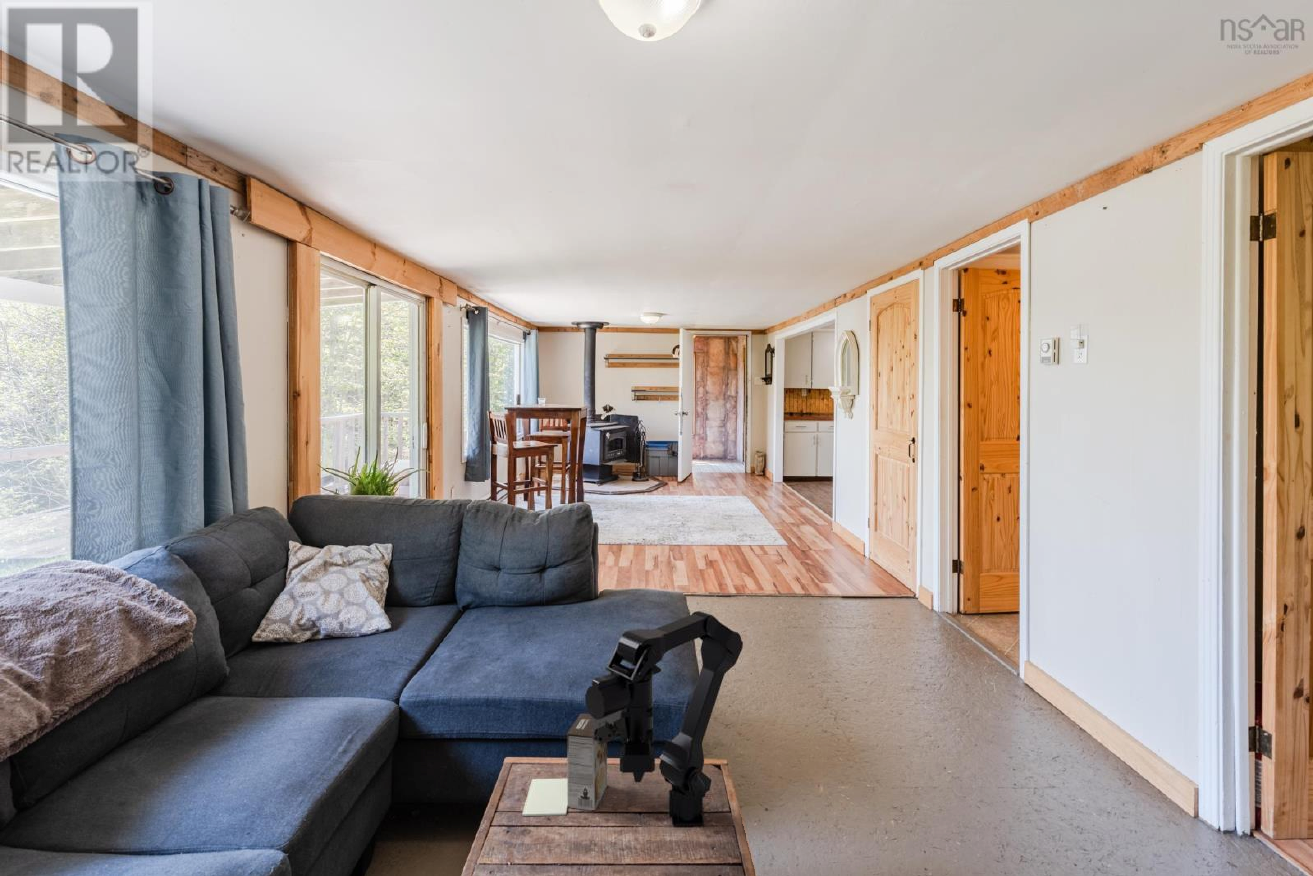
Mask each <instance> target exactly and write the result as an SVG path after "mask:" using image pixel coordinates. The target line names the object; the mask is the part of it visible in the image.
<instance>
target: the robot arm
mask: <svg viewBox="0 0 1313 876" xmlns="http://www.w3.org/2000/svg"><path fill="white" fill-rule="evenodd" d="M696 639H699V640H701V645H700V658H701V662H702V666H701V669H700V671H699V675H698V678H697V681H696V684H695V687H694V689H693V693H692V695H691V698H690V702H689V705H688V707H687V711H686V713H685V716H684V719H683V722H682V725H681V727H680V730H679V733H678V734H676V736H675V737H674V738H672V740H671V739H667V740H665V743H664V747H663V750H662V753H661V754H660V756H659V758H658V759H659V766H658V768H659V770H660V774H661V776H662V777H663V779H664V782H666V783H668V784H670V785H671V789H669V790H668V816H669V817H670V818H671V824H672V826H674V827H680V826H681V827H682V826H684V827H685V826H689V827H690V826H704V825H705V818H704V813H703V812H704V806H703V805H704V804H703V803H704V798H705V797H706V794H707V793H708V792H709V791H710V790H711V785H712V779H711V778H710V777H709V776H708V775H706V773H704V772H703V768H704V764H705V755H704V751H703V749H704V748H703V741H704V738H705V736H706V732H707V730H708V725H709V722H710V719H711V717H712V714H713V710H714V708H715V704H716V702H717V699H718V696H719V693H720V689H721V686H722V683H723V681H724V680H723V679H724V677H725V675H726V673H728V672H729V671H730V670H731V669H732V668H733V667H734V666H736V664H737V661H738V660H739V657H740V654H741V653H742V650H743V646H744V642H743V641H742V636H741V635H740V633H739V632H738V631H734V630H732V629H731V628H729V627H728V626H726V625H725V624H724V623H722V622H721V621H719V620H718V619H717V617H715V616H714V615H712V614H710V613H707V612H704V611H701V610H697V611H694V612H692V613H691V614H690V615H687V616H685V617H682V618H679V619H677V620H675V621H672V622H670V623H668V624H667V623H666V624H664V625H662V626H660V627H657V628H653V629H652V628H651V629H647V628H646V629H645V628H643V629H642V628H638V629H631V630H627V631H625V632H623V633H622V634H621V635H620V639H619V640H618V642H617V644H616V646H615V648H614V650H613V651H612V654H611V656H610V659H609V660H608V662H607V664H606V667H605V670H606V671H607V672H609V673H608V674H605V675H603V676H600V677H599V676H598V677H595V678H593V679H592V680H591V686H589V687H588V688H587V689H586V693H585V694H584V701H585V706H586V709H587V711H588V714H590V715H591V716H592V717H593V718H594V720H593V725H592V730H593V732H594V740H595V741H597V743H598V744H599V745H600V744H604V743H606V742H607V743H608V742H611V741H613V740H614V739H616V738H619V737H620V741H621V744H622V745H623V747H621V749H620V751H619V772H621V773H622V774H625V773H629V774H630V773H631V774H633V779H634V782H635V783H641V782H642V780H643V778H644V775H645V773H653V772H655V771H656V755H655V748H654V747H653V746H654V731H653V730H654V729H653V728H654V710H653V709H654V708H653V707H654V706H653V695H654V694H653V677H654V676H655V675H657V674H660V673H661V672H662V668H660V667H659V666H658V665H656V664H658V663H660V662H661V661H662V660H663V658H664V656H665V654H666V653H668V652H669V651H671V650H674V649H676V648H678V647H680V646H681V647H682V646H683V645H686V644H688V643H690V642H692V641H694V640H696ZM622 662H624V663H626V664H629V665H631V666H633V667H628V666H626V665H625V664H622Z"/></svg>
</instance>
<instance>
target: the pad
mask: <svg viewBox="0 0 1313 876" xmlns="http://www.w3.org/2000/svg"><path fill="white" fill-rule="evenodd" d="M567 791H568V788H567V778H532V779H531V782H530V786H529V790H528V792H527V795H526V798H525V799H526V800H525V803H524V807H523V810H522V813H521V816H522V817H541V816H542V817H546V816H548V817H549V816H550V817H551V816H552V817H553V816H567V811H568V794H567Z"/></svg>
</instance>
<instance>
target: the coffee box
mask: <svg viewBox="0 0 1313 876" xmlns="http://www.w3.org/2000/svg"><path fill="white" fill-rule="evenodd" d="M593 720H594V718H593V717H592V716H591V715H590V713H580V714H579V715H578V717H577V718H576V720H575V721H574V723H573V724H572V726H571V727H570V728H569V730H568V731H567V733H566V740H567V741H566V743H567V744H566V745H567V746H566V747H567V749H566V750H567V753H566V755H567V758H566V759H567V760H566V761H567V766H566V767H567V770H566V771H567V772H566V773H567V777H566V779H567V788H568V791H567V794H568V806H567V808H571V809H578V810H585V811H592V810H595V811H596V810H597V808H598V806H599V803H600V802H599V801H601V800H602V797H603V796H604V793H605V791H606V789H607V787H608V742H606V743H604V744H600V745H599V744H598V743H597V741H595V740H594V732H593V730H592V725H593Z"/></svg>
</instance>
